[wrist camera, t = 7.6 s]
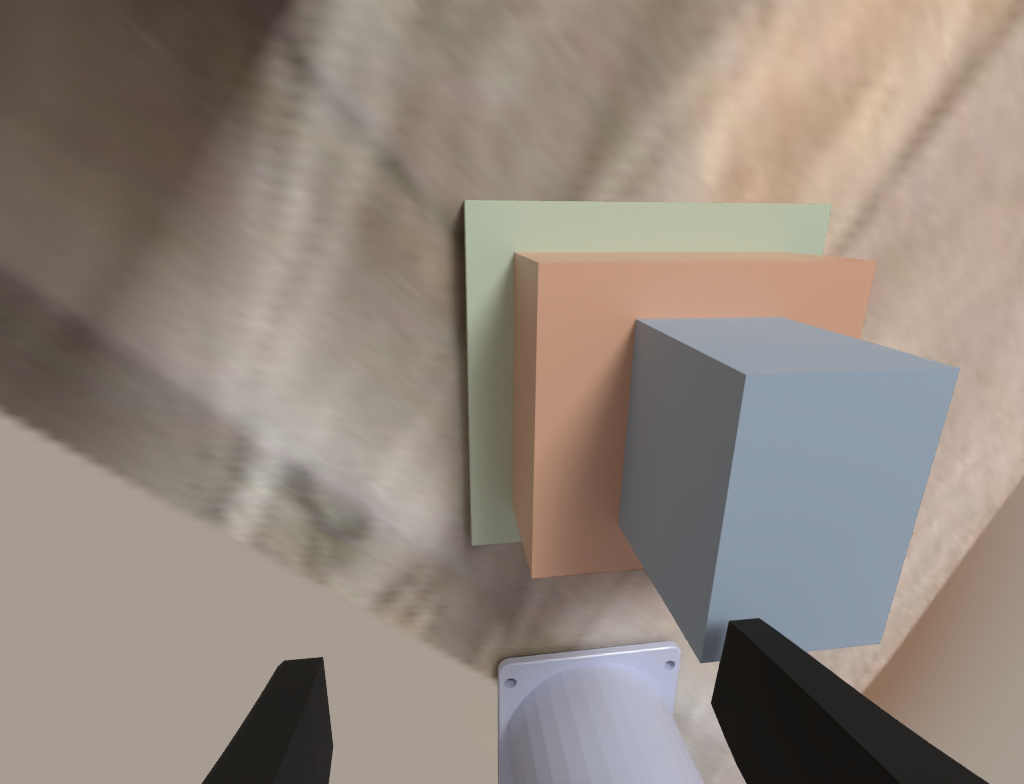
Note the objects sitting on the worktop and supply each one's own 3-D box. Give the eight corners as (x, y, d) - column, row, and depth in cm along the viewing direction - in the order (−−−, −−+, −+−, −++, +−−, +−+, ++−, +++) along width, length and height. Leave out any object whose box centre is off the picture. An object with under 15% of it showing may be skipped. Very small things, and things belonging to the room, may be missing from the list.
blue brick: (746, 516, 16) (879, 643, 11) (618, 525, 15) (700, 663, 10) (781, 316, 14) (959, 368, 9) (635, 319, 13) (746, 374, 9)
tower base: (760, 512, 22) (846, 589, 17) (470, 533, 20) (481, 625, 16) (815, 204, 18) (943, 200, 13) (463, 201, 16) (474, 195, 12)
